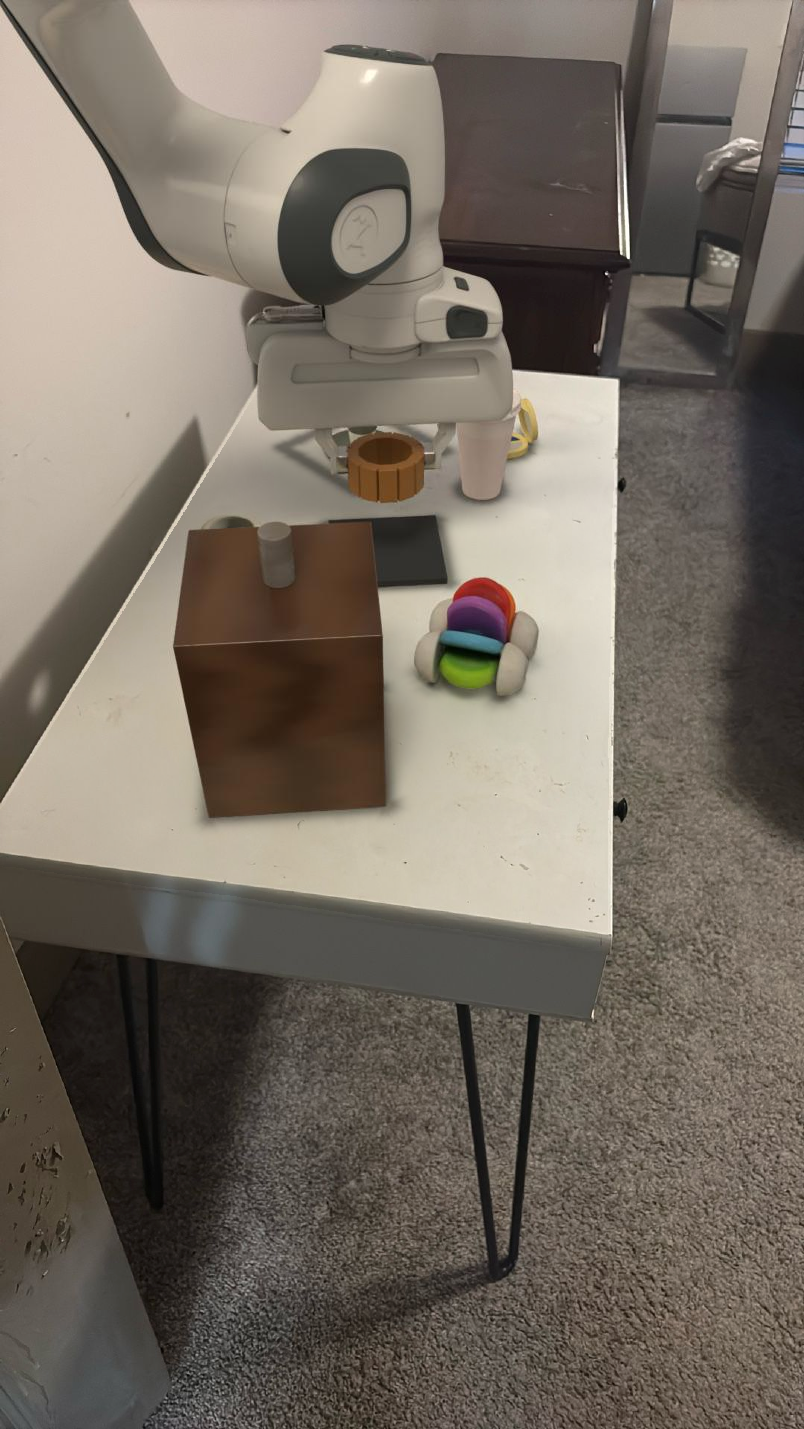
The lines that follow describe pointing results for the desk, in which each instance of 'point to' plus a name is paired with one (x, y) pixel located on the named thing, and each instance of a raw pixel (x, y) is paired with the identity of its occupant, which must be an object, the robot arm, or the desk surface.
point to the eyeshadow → (524, 430)
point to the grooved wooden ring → (385, 467)
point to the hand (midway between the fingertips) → (386, 468)
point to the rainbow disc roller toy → (478, 639)
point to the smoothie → (485, 453)
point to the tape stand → (283, 667)
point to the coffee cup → (352, 435)
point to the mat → (406, 550)
